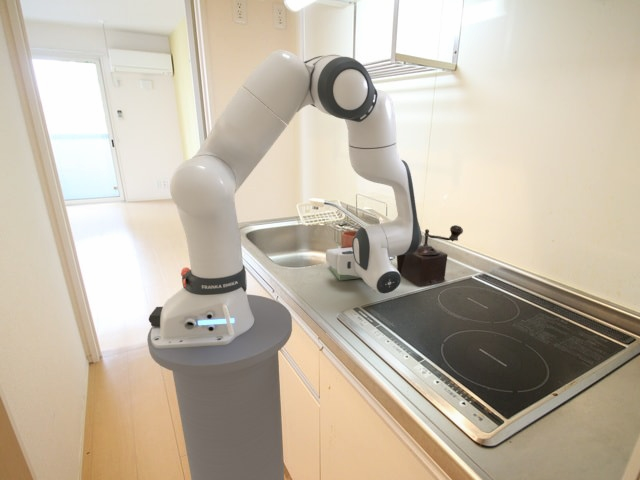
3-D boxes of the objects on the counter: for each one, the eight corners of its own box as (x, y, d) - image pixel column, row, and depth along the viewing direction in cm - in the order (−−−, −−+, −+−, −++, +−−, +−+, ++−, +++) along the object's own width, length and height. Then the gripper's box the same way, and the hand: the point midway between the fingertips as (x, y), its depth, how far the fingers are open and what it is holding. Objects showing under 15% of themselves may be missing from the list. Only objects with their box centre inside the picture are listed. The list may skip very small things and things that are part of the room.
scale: (339, 280, 115) (340, 273, 114) (329, 268, 124) (329, 261, 123) (371, 276, 118) (372, 269, 117) (359, 265, 128) (359, 258, 127)
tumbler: (345, 269, 117) (345, 237, 113) (338, 262, 122) (339, 231, 118) (363, 267, 119) (365, 235, 115) (356, 260, 124) (357, 230, 121)
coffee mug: (405, 278, 117) (408, 249, 114) (388, 269, 124) (390, 242, 120) (431, 272, 123) (434, 244, 120) (414, 264, 130) (417, 237, 126)
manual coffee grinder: (420, 287, 111) (426, 231, 105) (400, 275, 121) (404, 222, 114) (458, 280, 118) (466, 226, 112) (436, 268, 127) (442, 218, 121)
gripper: (398, 248, 109) (379, 235, 121) (334, 254, 103) (321, 240, 115) (397, 268, 112) (378, 253, 124) (333, 275, 105) (321, 259, 117)
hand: (350, 247), depth 119 cm, fingers closed on tumbler, 6 cm apart
